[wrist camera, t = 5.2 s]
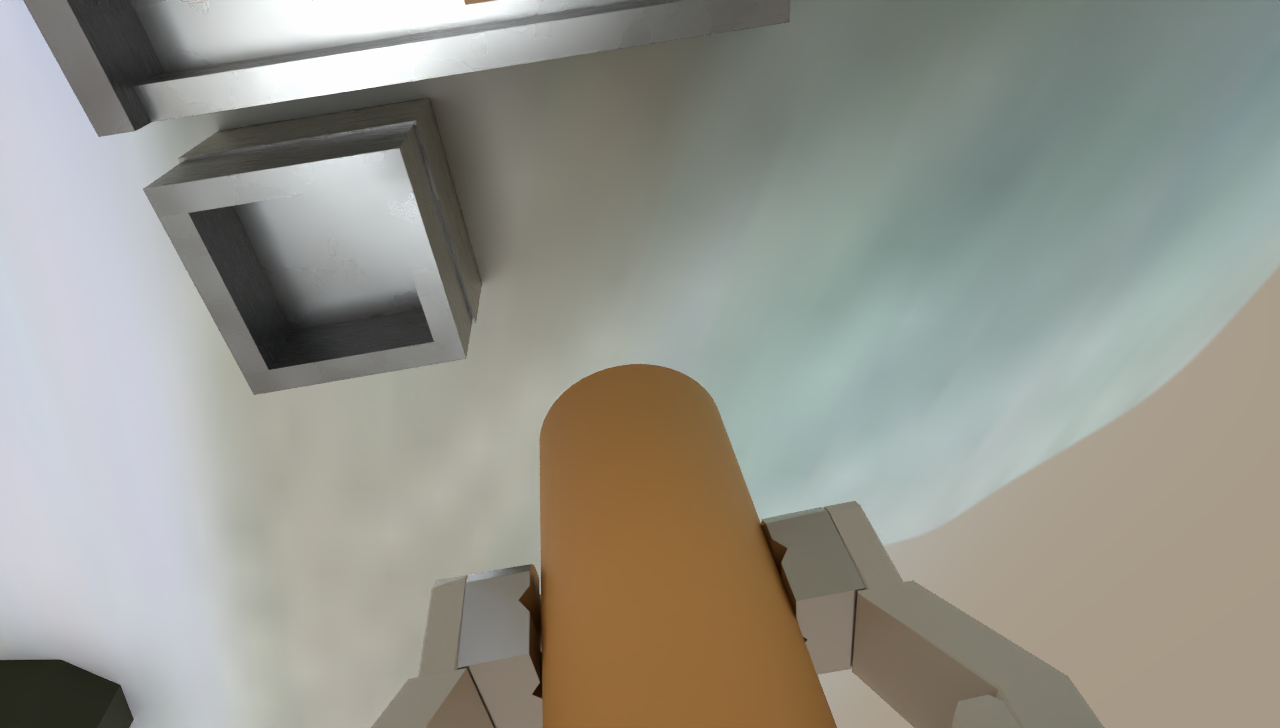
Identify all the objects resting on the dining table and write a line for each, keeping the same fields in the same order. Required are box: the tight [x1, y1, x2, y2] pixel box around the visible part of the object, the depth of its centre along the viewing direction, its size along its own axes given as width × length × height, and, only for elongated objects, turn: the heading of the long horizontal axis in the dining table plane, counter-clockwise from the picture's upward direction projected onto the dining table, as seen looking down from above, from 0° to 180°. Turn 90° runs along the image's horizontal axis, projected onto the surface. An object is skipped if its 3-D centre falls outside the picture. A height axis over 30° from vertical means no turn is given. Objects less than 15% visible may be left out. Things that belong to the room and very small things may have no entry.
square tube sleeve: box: [143, 98, 482, 395], centre depth 23 cm, size 7×7×6 cm
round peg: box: [540, 364, 837, 728], centre depth 10 cm, size 4×4×9 cm
